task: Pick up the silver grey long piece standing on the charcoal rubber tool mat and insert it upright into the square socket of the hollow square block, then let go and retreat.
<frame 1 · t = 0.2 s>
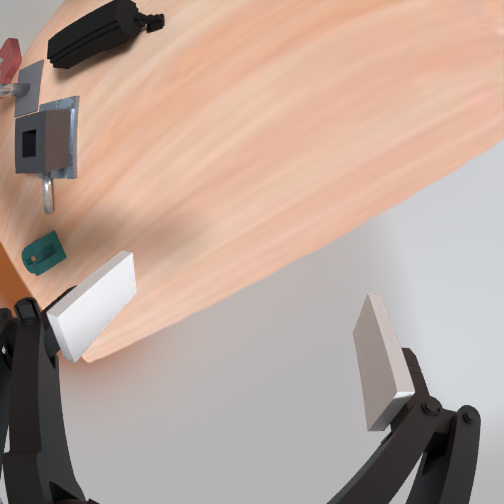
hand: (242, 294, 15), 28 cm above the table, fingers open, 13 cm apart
hollow square block: (57, 138, 41), on the table
silver grey long piece: (26, 89, 37), point 1 cm above the table, touching tool mat
plaque: (5, 76, 37), on the table
tool mat: (28, 89, 37), on the table
bracket: (44, 252, 54), on the table
security camera: (120, 39, 33), on the table
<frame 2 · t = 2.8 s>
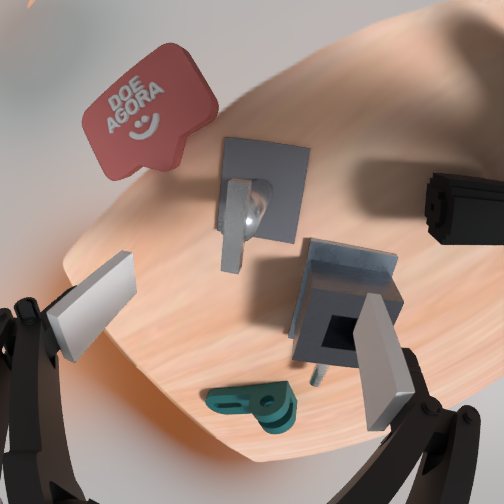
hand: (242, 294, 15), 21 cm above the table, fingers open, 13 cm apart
hollow square block: (340, 297, 38), on the table
silver grey long piece: (260, 191, 33), point 1 cm above the table, touching tool mat
plaque: (154, 121, 33), on the table
tool mat: (261, 190, 34), on the table
bracket: (249, 394, 50), on the table
security camera: (466, 197, 29), on the table
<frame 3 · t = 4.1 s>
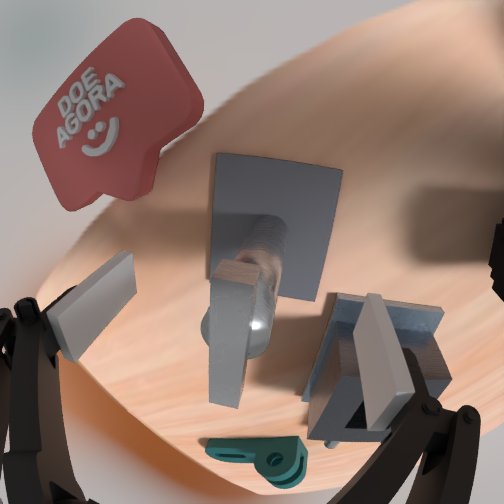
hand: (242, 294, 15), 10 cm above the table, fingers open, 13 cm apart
hollow square block: (368, 359, 28), on the table
silver grey long piece: (269, 232, 23), point 1 cm above the table, touching tool mat
plaque: (118, 128, 23), on the table
tool mat: (270, 229, 24), on the table
bracket: (254, 445, 41), on the table
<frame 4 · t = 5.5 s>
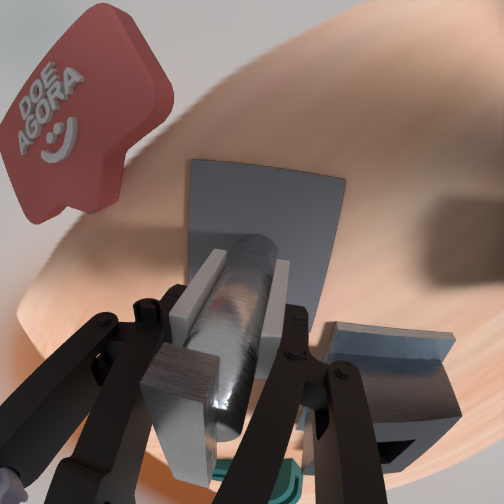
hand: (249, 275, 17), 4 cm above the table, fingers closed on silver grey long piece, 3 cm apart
hollow square block: (369, 388, 24), on the table
silver grey long piece: (256, 254, 19), point 1 cm above the table, touching gripper, tool mat
plaque: (83, 128, 19), on the table
tool mat: (258, 251, 20), on the table
bracket: (246, 465, 37), on the table
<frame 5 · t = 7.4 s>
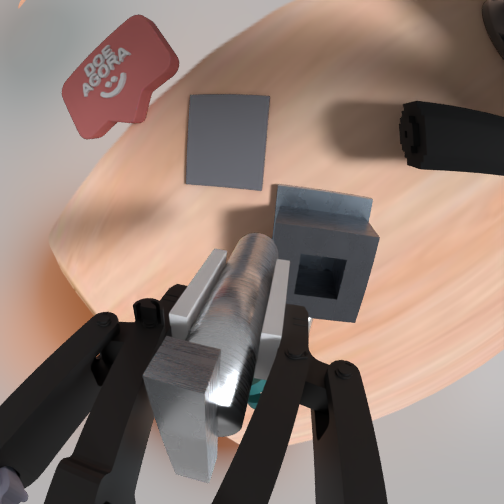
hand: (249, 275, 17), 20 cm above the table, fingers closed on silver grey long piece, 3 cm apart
hollow square block: (316, 248, 37), on the table
silver grey long piece: (256, 253, 20), point 17 cm above the table, touching gripper
plaque: (124, 84, 32), on the table
tool mat: (226, 140, 33), on the table
bracket: (234, 369, 49), on the table
security camera: (447, 137, 28), on the table
when the fingers open (9 cm above the table, at t = 9.7 s): silver grey long piece drops 4 cm, resting on hollow square block.
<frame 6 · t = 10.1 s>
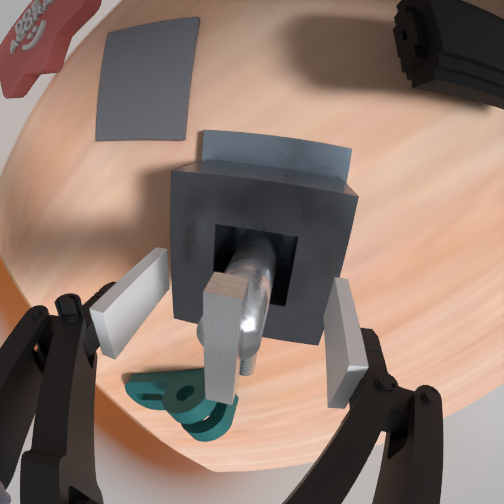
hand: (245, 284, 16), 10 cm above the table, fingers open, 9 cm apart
hollow square block: (266, 226, 25), on the table
silver grey long piece: (265, 231, 24), point 1 cm above the table, touching hollow square block
plaque: (51, 36, 19), on the table
tool mat: (142, 79, 21), on the table
bracket: (176, 385, 37), on the table
security camera: (464, 74, 15), on the table
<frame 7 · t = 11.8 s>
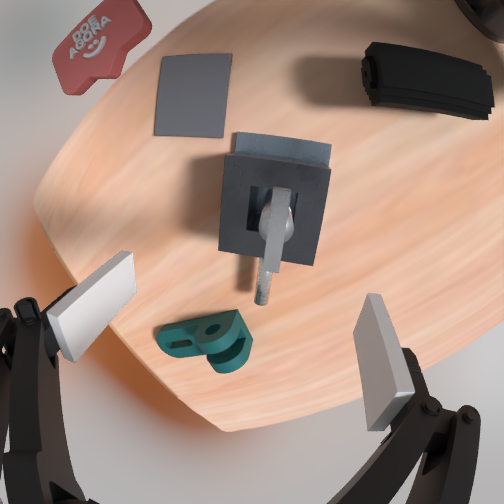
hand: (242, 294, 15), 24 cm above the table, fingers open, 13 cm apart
hollow square block: (277, 196, 37), on the table
silver grey long piece: (276, 198, 36), point 1 cm above the table, touching hollow square block
plaque: (105, 48, 31), on the table
tool mat: (192, 94, 33), on the table
bracket: (201, 332, 49), on the table
security camera: (417, 90, 27), on the table
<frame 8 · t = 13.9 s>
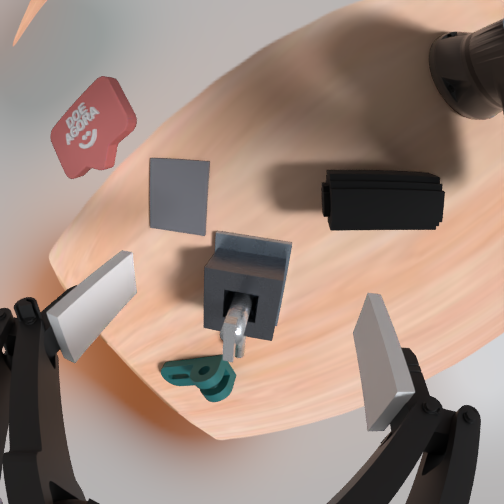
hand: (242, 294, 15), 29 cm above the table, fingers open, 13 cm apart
hollow square block: (249, 280, 48), on the table
silver grey long piece: (248, 283, 47), point 1 cm above the table, touching hollow square block
plaque: (98, 133, 42), on the table
tool mat: (178, 195, 44), on the table
bracket: (196, 368, 60), on the table
security camera: (378, 189, 38), on the table
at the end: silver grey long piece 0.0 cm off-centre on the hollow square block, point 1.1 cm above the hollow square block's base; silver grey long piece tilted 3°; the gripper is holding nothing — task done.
